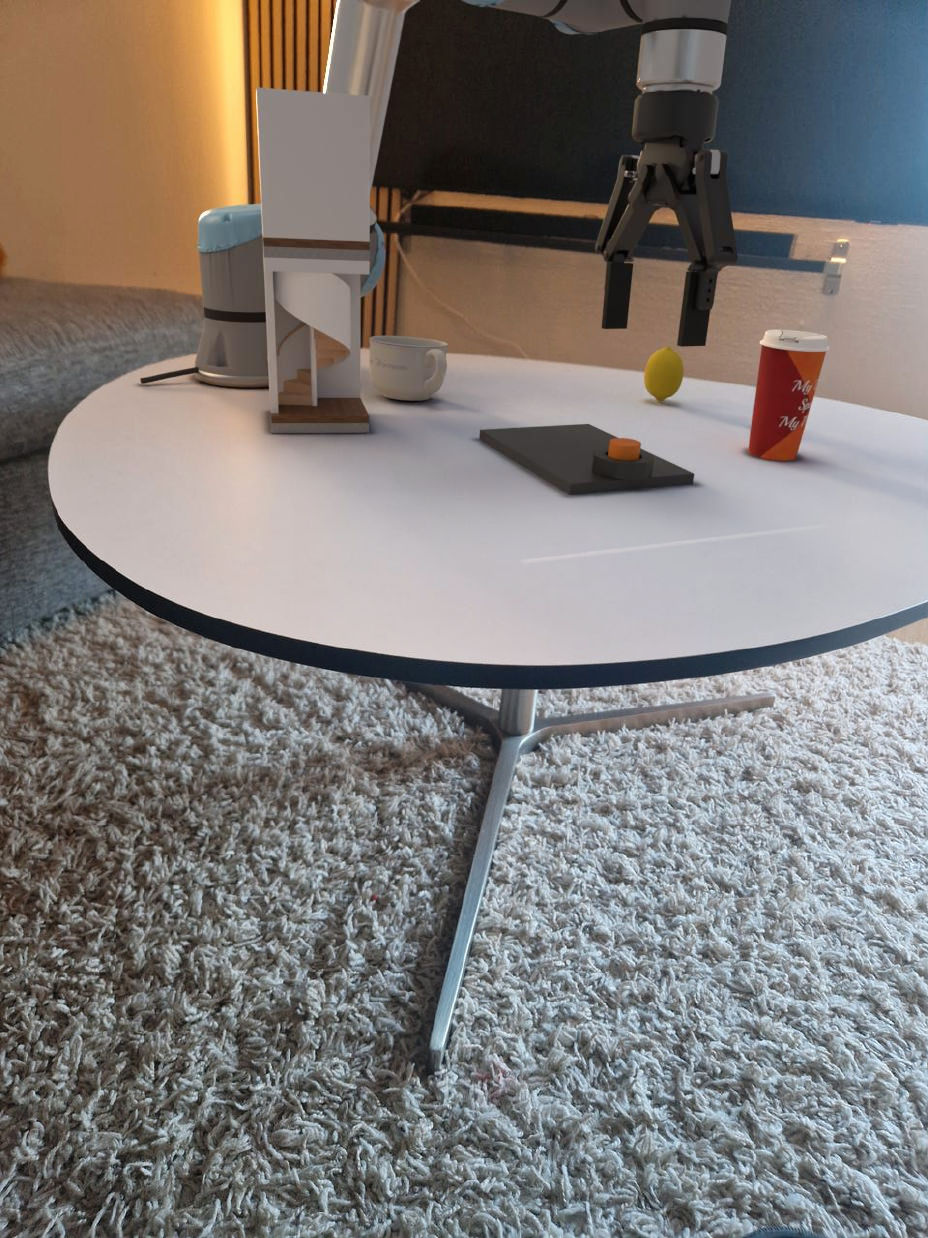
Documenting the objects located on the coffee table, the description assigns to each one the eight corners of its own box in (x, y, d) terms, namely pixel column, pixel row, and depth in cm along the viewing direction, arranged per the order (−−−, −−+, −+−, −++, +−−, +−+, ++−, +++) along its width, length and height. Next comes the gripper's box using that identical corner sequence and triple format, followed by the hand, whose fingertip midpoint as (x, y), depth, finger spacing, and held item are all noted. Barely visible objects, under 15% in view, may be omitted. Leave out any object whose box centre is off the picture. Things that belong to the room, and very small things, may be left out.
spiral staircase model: (271, 432, 105) (256, 87, 90) (270, 411, 114) (256, 95, 99) (368, 432, 107) (370, 95, 92) (359, 411, 117) (359, 102, 101)
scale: (571, 497, 89) (575, 467, 87) (479, 439, 107) (480, 414, 106) (696, 486, 94) (700, 458, 93) (587, 432, 113) (590, 409, 111)
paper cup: (796, 467, 103) (824, 341, 97) (731, 454, 107) (753, 332, 100) (812, 453, 109) (838, 334, 103) (749, 442, 113) (771, 326, 107)
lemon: (637, 403, 130) (645, 346, 127) (645, 396, 135) (652, 341, 132) (675, 408, 129) (684, 350, 125) (681, 401, 133) (690, 345, 130)
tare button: (618, 463, 91) (620, 446, 90) (601, 455, 93) (603, 438, 93) (644, 461, 92) (647, 444, 91) (627, 453, 95) (630, 436, 94)
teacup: (358, 390, 128) (358, 332, 125) (428, 387, 133) (429, 331, 129) (393, 412, 117) (394, 350, 114) (467, 409, 121) (471, 348, 118)
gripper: (807, 81, 72) (763, 353, 81) (636, 107, 93) (615, 321, 102) (732, 72, 69) (695, 355, 78) (573, 102, 90) (557, 322, 99)
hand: (650, 336), depth 90 cm, fingers open, 13 cm apart
